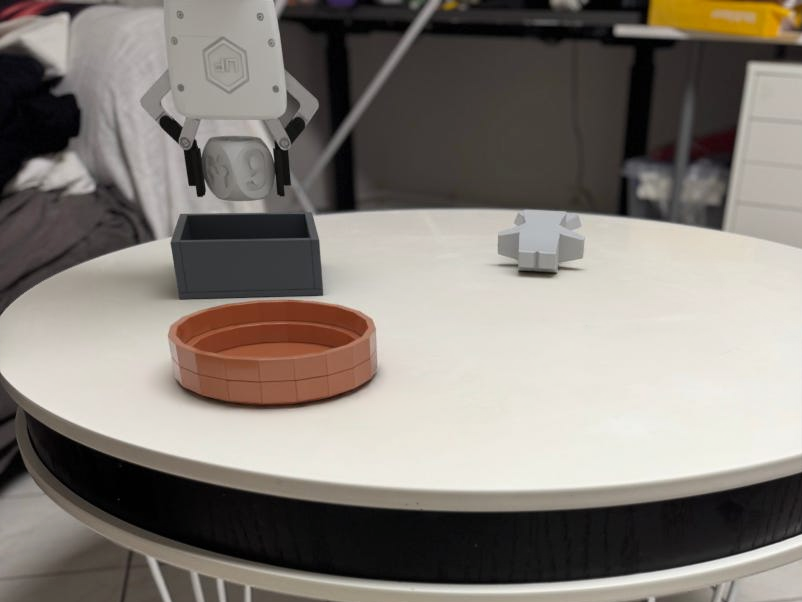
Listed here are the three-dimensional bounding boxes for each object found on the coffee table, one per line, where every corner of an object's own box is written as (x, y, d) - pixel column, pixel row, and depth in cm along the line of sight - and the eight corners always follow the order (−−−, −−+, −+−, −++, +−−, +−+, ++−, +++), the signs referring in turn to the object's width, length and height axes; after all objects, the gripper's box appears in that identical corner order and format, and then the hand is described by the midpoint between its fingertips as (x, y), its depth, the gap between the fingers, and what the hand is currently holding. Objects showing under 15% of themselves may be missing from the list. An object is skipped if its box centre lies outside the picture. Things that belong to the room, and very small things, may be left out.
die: (245, 190, 91) (239, 134, 89) (278, 197, 89) (273, 139, 86) (204, 196, 88) (197, 138, 85) (237, 203, 86) (230, 143, 83)
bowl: (169, 413, 63) (160, 363, 61) (182, 346, 75) (175, 302, 73) (387, 403, 66) (385, 354, 63) (366, 339, 78) (364, 296, 76)
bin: (179, 299, 86) (170, 242, 83) (187, 265, 97) (179, 213, 94) (323, 295, 89) (319, 239, 86) (315, 262, 100) (312, 212, 97)
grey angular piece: (492, 234, 95) (509, 192, 106) (491, 283, 98) (508, 237, 109) (583, 239, 94) (590, 196, 105) (579, 289, 97) (586, 242, 108)
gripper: (104, -38, 74) (145, 202, 84) (320, -30, 77) (334, 200, 87) (115, -36, 80) (152, 188, 90) (315, -28, 83) (328, 187, 93)
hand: (241, 192), depth 88 cm, fingers closed on die, 7 cm apart
